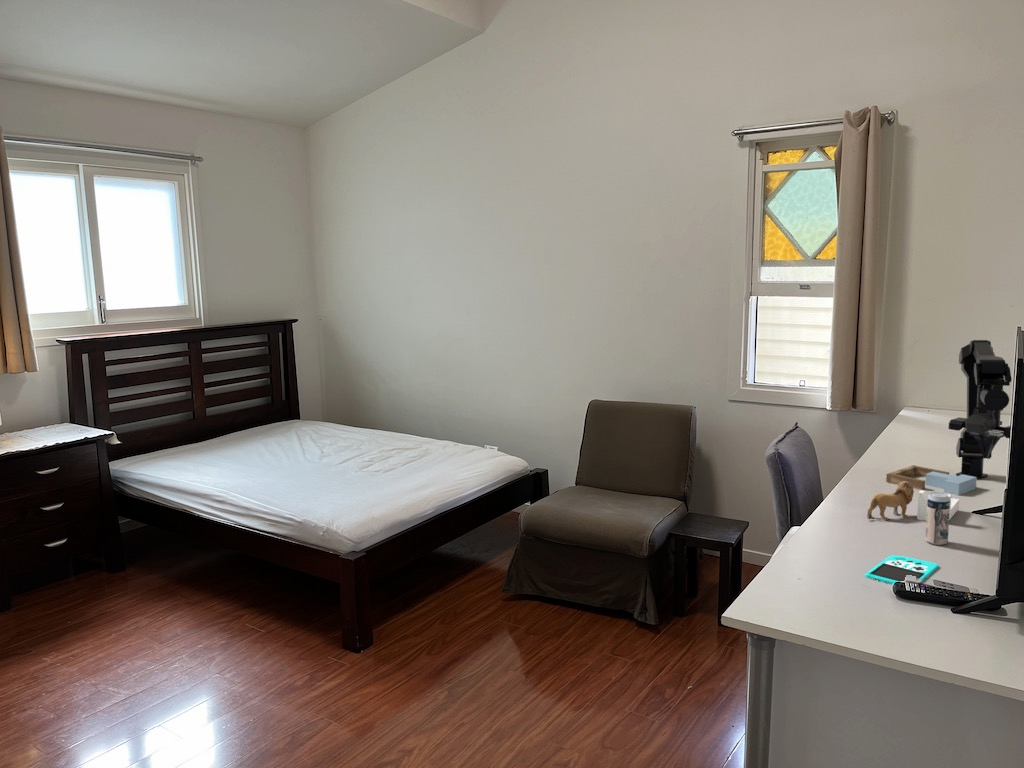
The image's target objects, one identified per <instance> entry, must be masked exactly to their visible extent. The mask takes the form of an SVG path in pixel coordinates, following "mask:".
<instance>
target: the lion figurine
mask: <svg viewBox="0 0 1024 768" xmlns="http://www.w3.org/2000/svg"><path fill="white" fill-rule="evenodd" d="M914 489H915V488H914V487H913V486H912V484H911V483H910V482H907V481H902V482H900V483H899V484H897V488H896V490H895V492H893V493H882V492H881V493H880V492H879V493H877V494H874V495H873V498H872V499H871V501H870V505H869V507H868V509H867V514H866V517H867V519H868V520H871V518H873V515H872V512H873V511H874V510H875V509H876V508H877V507H878V508H879V516H880V517H881V518H882V520H884V521H889V518H888V517H886V516H885V512H886V509H887V507H888V508H893V512H892V514H893V515H894V516H896V515H899V511H898V509H899V508H898V507H900V508H901V512H900V513H901V517H903V518H906V519H907V518H908V515H907V514H906V513H907V509H908V508H907V507H908V506H907V505H909V504H910V503H911V502H912V501H913V497H914V492H915V491H914Z"/></svg>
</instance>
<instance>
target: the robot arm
mask: <svg viewBox="0 0 1024 768" xmlns="http://www.w3.org/2000/svg"><path fill="white" fill-rule="evenodd" d="M958 364H959V365H960V370H961V371H962V373H963V374H964V376H965V377H966V417H956V418H951V419H950V420H949V422H948V427H947V428H948V429H949V430H952V431H961V430H962V431H961V432H960V437H958V439H957V442H956V446H955V447H956V448H955V449H956V451H955V454H956V456H957V457H958V458H961V468H960V469H961V470H960V472H957V473H956V474H955V476H959V475H962V474H963V475H968V476H973V477H977V480H979V479H983V478H985V477H987V476H988V475H989V474H988V473H985V472H984V459H988V460H990V459H992V455H993V454H992V452H993V450H994V448H995V446H996V445H997V443H998V442H999V440H1001V439H1002V438H1004V437H1005V438H1006V439H1010V429H1011V425H1008V426H1003V421H1002V420H1001V416H1002V415H1001V412H1002V411H1004V409H1005V408H1007V407H1008V406H1009V403H1010V396H1009V395H1008V393H1007V392H1006V391H1004V386H1005V387H1006V386H1008V387H1009V386H1010V385H1011V382H1012V375H1011V374H1012V373H1011V368H1010V366H1009V363H1007V362H1006V360H1005V359H1004V358H1003V357H1001V356H996V355H995V352H994V348H993V346H992V342H991V340H988V339H973V340H970V341H969V343H968V344H967V345H965V346H962V347H961V348H960V351H959V354H958Z"/></svg>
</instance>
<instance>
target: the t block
mask: <svg viewBox="0 0 1024 768" xmlns="http://www.w3.org/2000/svg"><path fill="white" fill-rule="evenodd" d="M977 480H978V479H977V477H973V476H968V475H963V474H962V475H959V476H958V475H953V474H950V473H949V474H944V473H939V472H934V471H933V472H930V473H927V474H926V477H925V486H928V487H932V488H938V489H942V490H943V493H945V494H950V495H955V496H961V495H963V494H966V493H968V492H972V491H973V490H975V489H977Z"/></svg>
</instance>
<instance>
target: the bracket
mask: <svg viewBox="0 0 1024 768" xmlns="http://www.w3.org/2000/svg"><path fill="white" fill-rule="evenodd" d="M946 494H947V495H948V497H949V498H950V509H949V521H950V520H951V519H952V518H953V517H954V516H955V514H956V513H957V511H958V510H959V509H960V499H959V498H952V494H950V493H946ZM927 497H928V496H927V494H926V490H925V489H923V490H919V491H918V496H917V512H916V513H917V516H916V517H917V518H916V519H917V520H918V521H925V522H927V500H928V498H927Z"/></svg>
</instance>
